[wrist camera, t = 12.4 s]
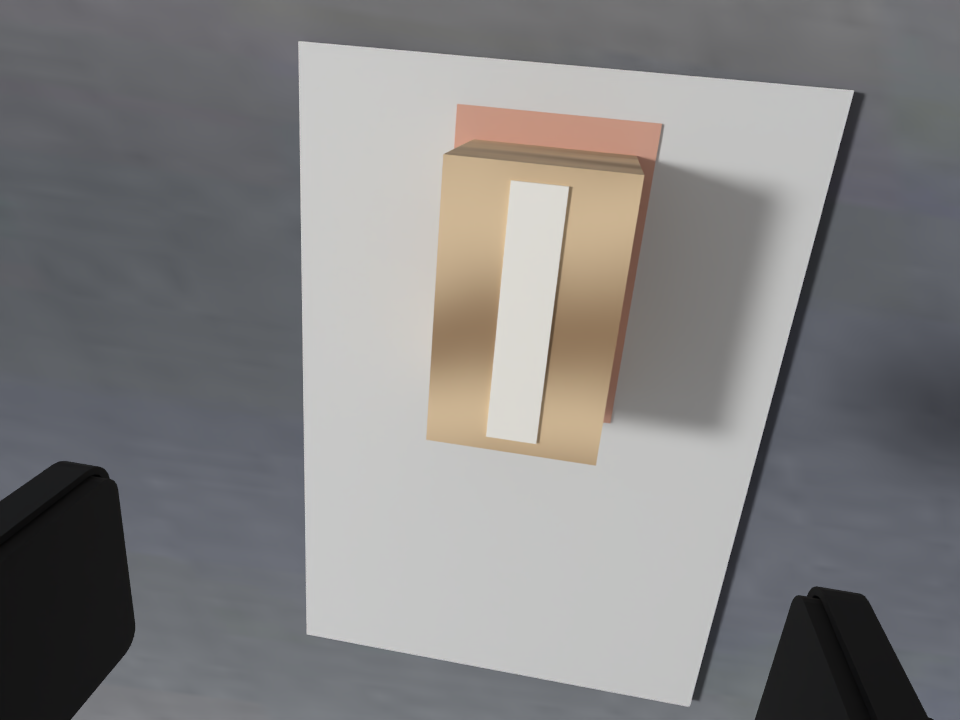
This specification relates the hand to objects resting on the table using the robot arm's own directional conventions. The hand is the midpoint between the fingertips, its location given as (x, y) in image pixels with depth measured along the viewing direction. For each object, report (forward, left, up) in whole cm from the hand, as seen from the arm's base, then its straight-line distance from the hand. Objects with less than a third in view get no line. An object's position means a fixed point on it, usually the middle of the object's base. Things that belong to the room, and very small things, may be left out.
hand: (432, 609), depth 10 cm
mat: (-6, 0, -18) cm, 19 cm away
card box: (0, 0, -17) cm, 17 cm away
